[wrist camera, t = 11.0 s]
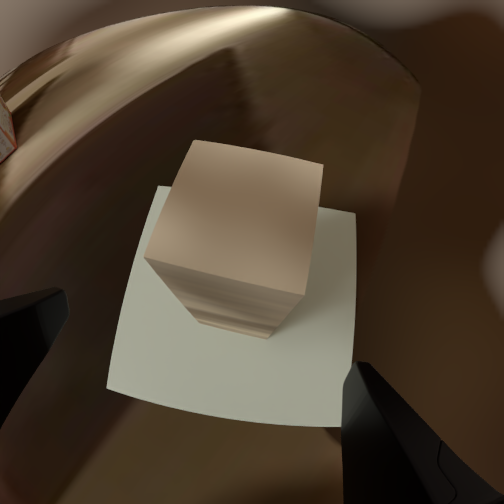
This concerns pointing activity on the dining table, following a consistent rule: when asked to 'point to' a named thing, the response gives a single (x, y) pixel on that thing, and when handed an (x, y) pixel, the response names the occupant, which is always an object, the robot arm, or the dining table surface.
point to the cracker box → (6, 132)
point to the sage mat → (243, 342)
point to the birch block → (237, 236)
